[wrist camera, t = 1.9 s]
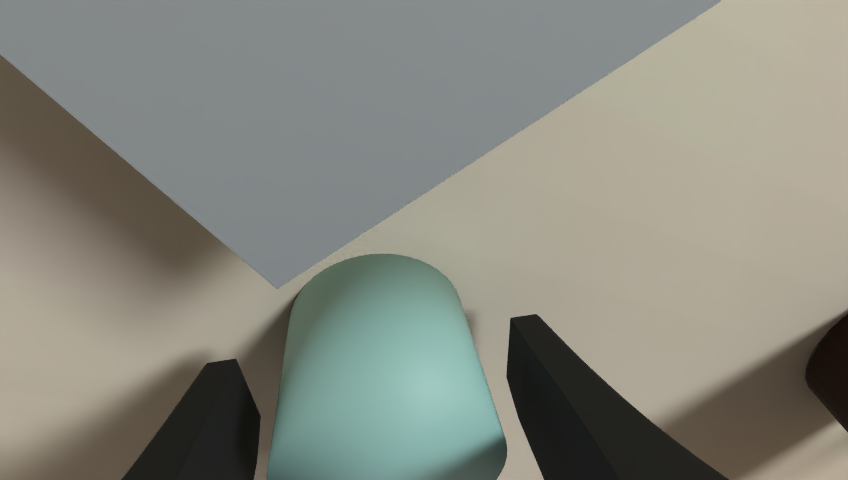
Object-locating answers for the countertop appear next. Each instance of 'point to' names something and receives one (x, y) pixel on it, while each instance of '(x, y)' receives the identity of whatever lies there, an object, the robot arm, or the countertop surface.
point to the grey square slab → (317, 97)
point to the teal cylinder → (383, 380)
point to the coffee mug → (831, 372)
